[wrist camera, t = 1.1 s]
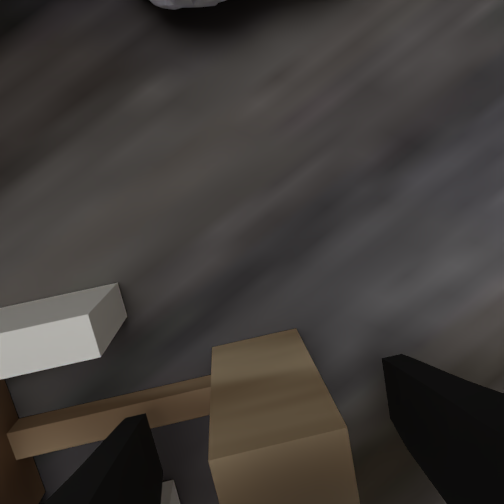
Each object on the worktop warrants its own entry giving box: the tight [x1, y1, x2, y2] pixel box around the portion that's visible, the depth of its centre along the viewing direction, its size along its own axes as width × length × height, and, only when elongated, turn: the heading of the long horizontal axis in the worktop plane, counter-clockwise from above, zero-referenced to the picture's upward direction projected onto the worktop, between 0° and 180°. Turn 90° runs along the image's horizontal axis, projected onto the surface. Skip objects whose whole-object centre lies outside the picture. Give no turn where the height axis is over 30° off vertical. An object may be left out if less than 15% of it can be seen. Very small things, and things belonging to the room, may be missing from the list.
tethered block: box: [0, 328, 360, 504], centre depth 11 cm, size 5×15×6 cm, turn 101°
